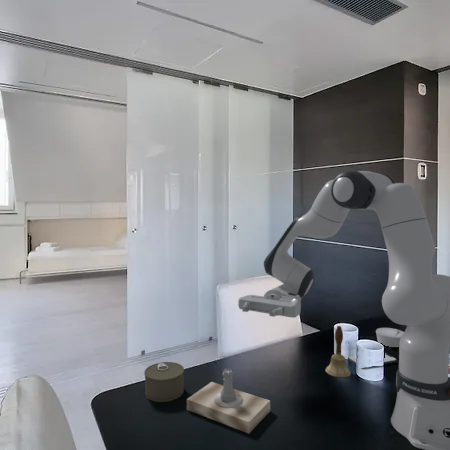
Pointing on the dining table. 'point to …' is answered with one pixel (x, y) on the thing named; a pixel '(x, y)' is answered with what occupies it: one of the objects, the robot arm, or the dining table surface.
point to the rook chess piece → (228, 387)
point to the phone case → (386, 360)
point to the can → (164, 381)
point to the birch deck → (229, 407)
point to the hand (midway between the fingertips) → (257, 311)
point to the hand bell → (338, 358)
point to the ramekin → (389, 336)
